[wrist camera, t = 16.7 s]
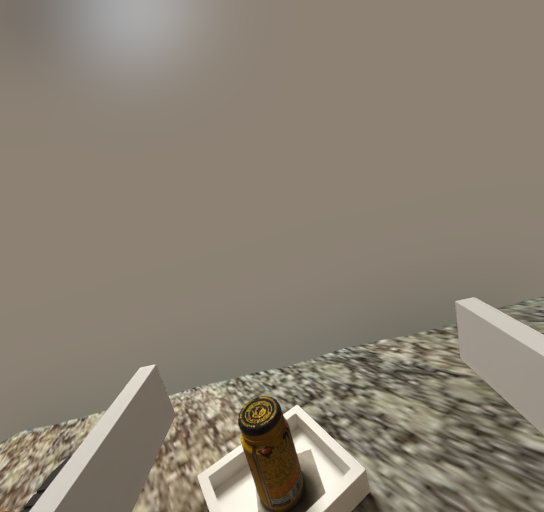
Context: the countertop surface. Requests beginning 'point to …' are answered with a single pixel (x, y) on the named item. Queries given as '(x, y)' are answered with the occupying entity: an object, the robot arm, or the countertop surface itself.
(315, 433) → the tray
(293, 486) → the condiment
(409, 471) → the countertop surface
